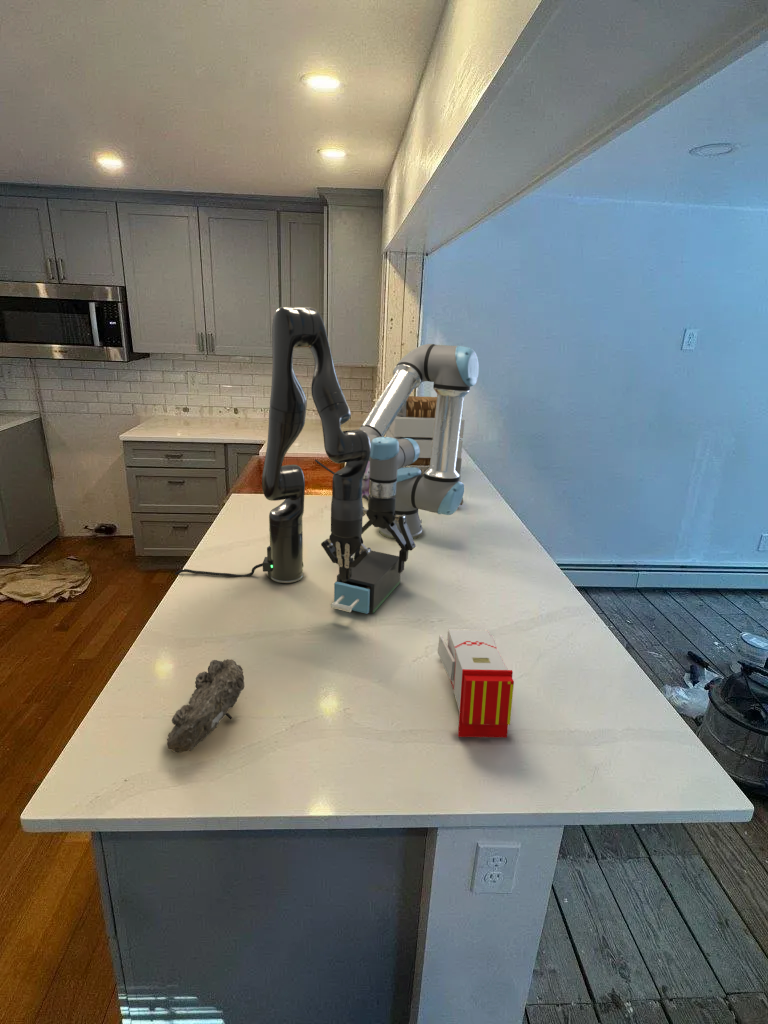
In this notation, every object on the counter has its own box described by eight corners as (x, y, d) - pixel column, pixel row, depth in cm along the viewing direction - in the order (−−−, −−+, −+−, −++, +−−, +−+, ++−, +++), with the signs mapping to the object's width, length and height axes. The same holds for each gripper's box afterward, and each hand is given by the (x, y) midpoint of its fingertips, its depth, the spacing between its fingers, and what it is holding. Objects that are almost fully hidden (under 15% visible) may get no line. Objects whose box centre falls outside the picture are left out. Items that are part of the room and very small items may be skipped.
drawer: (357, 625, 140) (358, 601, 138) (323, 616, 143) (323, 593, 141) (393, 585, 161) (394, 564, 158) (362, 578, 164) (363, 557, 162)
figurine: (361, 499, 234) (363, 463, 229) (351, 491, 242) (352, 457, 237) (382, 496, 238) (383, 461, 233) (371, 489, 246) (372, 456, 241)
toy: (488, 613, 130) (523, 677, 101) (484, 667, 133) (517, 744, 104) (435, 612, 130) (455, 676, 101) (432, 666, 133) (451, 743, 103)
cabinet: (373, 613, 147) (374, 584, 144) (336, 604, 151) (336, 575, 148) (399, 583, 164) (401, 556, 161) (365, 575, 168) (366, 549, 165)
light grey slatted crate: (382, 463, 289) (386, 382, 275) (445, 464, 293) (451, 384, 279) (390, 482, 257) (394, 392, 243) (460, 483, 261) (468, 394, 247)
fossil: (192, 660, 117) (244, 628, 112) (224, 691, 120) (276, 661, 115) (142, 746, 98) (202, 712, 93) (182, 779, 101) (242, 748, 96)
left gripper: (314, 514, 133) (314, 580, 139) (365, 523, 129) (363, 591, 135) (329, 504, 140) (328, 568, 146) (378, 514, 135) (375, 579, 141)
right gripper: (334, 491, 155) (333, 562, 162) (421, 506, 146) (415, 580, 153) (347, 484, 162) (345, 552, 169) (430, 498, 153) (424, 570, 160)
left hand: (345, 579), depth 140 cm, fingers closed
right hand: (378, 566), depth 161 cm, fingers open, 13 cm apart
